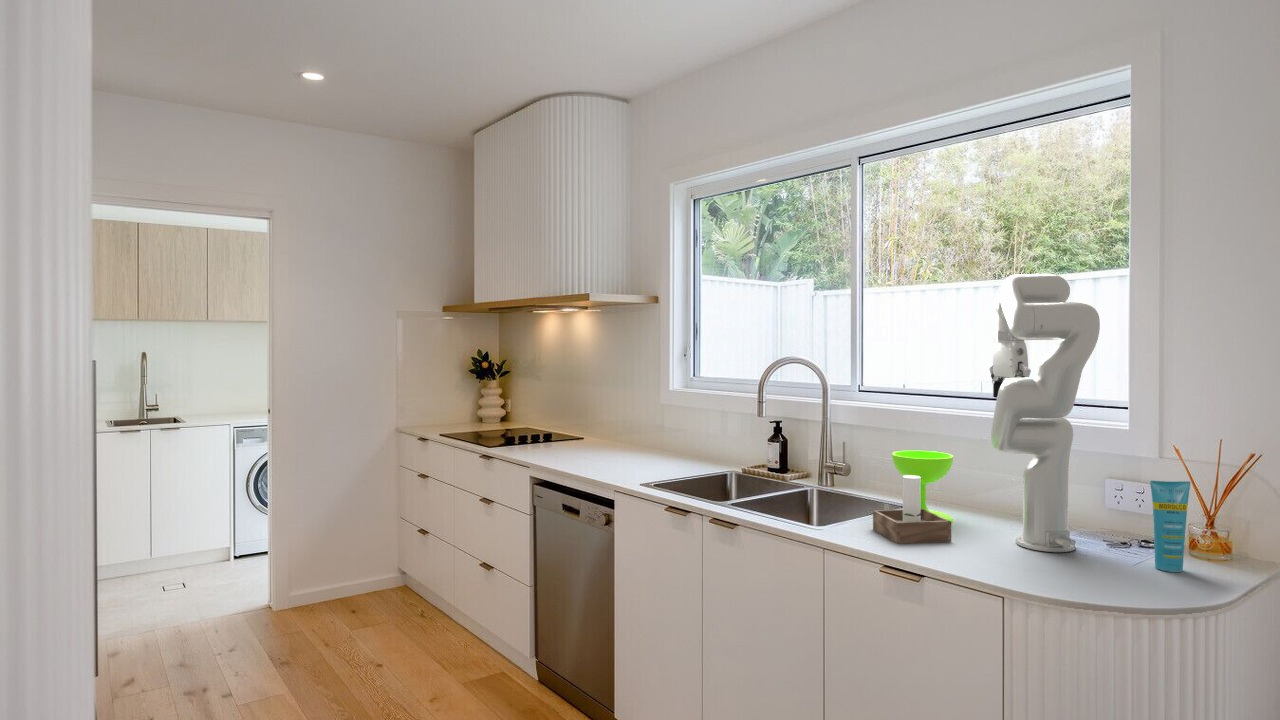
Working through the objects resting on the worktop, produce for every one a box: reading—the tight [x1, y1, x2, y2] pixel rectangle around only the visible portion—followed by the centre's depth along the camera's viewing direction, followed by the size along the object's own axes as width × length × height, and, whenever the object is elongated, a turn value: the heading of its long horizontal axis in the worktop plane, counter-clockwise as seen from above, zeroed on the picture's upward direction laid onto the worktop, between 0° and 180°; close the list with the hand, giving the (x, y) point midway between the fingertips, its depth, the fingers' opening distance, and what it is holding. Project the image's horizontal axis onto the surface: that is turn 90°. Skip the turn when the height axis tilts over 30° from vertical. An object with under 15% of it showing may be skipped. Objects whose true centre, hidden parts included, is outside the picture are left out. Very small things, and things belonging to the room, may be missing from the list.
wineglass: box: [891, 450, 954, 524], centre depth 208 cm, size 16×16×18 cm
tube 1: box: [902, 475, 921, 522], centre depth 190 cm, size 4×4×15 cm
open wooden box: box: [872, 509, 952, 544], centre depth 191 cm, size 14×14×5 cm
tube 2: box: [1149, 480, 1191, 573], centre depth 160 cm, size 7×5×19 cm, turn 81°
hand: (1009, 398), depth 210 cm, fingers open, 9 cm apart
